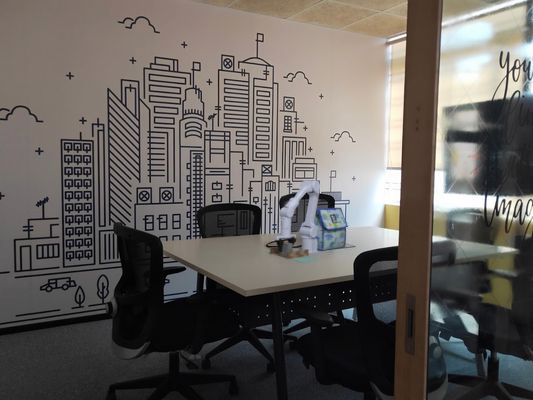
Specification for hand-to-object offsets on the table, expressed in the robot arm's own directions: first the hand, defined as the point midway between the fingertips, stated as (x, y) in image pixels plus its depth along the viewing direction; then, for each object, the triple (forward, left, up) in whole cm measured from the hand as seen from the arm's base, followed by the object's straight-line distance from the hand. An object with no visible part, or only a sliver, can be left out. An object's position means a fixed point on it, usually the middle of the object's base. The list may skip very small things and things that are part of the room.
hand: (285, 251), depth 257 cm
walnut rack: (-3, 0, -3) cm, 4 cm away
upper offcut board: (-7, 0, -2) cm, 8 cm away
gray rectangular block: (0, 0, -3) cm, 3 cm away
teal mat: (-2, +14, -3) cm, 15 cm away
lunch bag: (-40, -4, -3) cm, 40 cm away
